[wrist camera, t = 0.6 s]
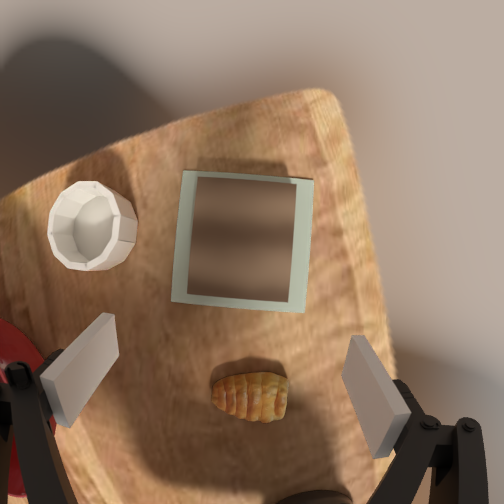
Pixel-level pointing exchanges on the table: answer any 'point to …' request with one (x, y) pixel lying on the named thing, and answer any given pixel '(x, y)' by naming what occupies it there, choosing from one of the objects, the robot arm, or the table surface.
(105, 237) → the bowl
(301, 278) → the mat
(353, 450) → the table surface
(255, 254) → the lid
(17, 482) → the mixing bowl
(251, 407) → the pastry
